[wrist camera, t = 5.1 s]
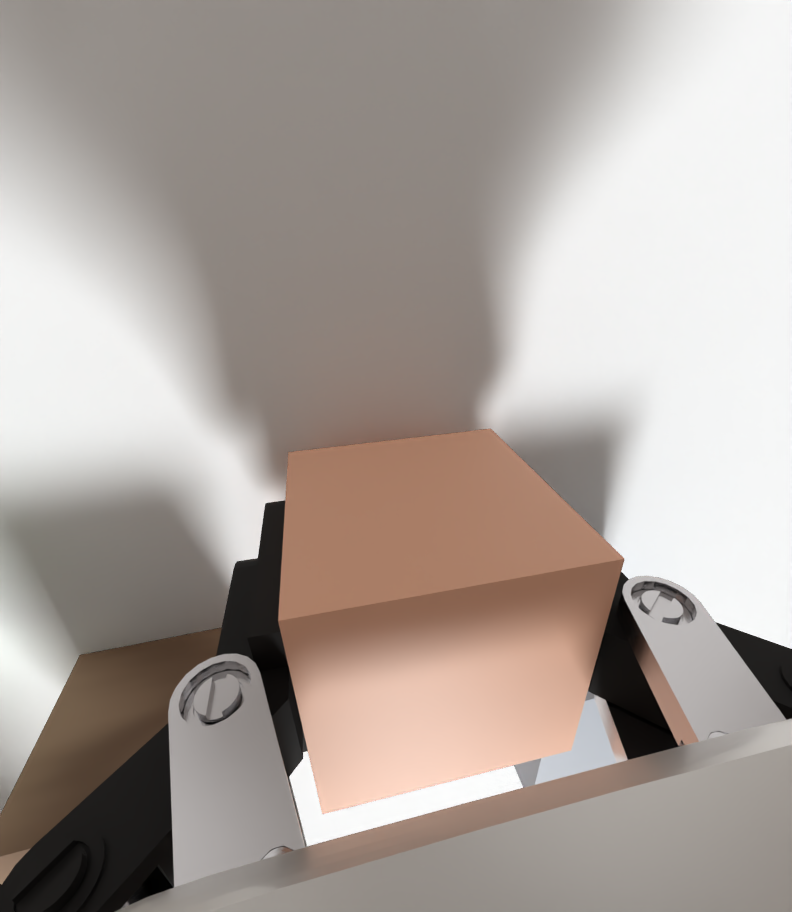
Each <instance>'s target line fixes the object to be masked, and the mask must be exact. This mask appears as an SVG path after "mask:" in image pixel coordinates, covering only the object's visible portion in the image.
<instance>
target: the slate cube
mask: <svg viewBox="0 0 792 912" xmlns="http://www.w3.org/2000/svg"><path fill="white" fill-rule="evenodd" d="M615 763H617V762H616V760H615V757H614V754H613V751H612V748H611V745H610V742H609V739H608V736H607V734H606V731H605V728H604V725H603V722H602V719H601V716H600V713H599V711H598V708H597V705H596V702H595V698H594V694H592V693H590V692H589V691H588V692H587V695H586V699H585V703H584V706H583V710H582V713H581V717H580V721H579V724H578V728H577V731H576V735H575V739H574V742H573V746H572V749H571V751H567V752H563V753H559V754H555V755H552V756H548V757H544V758H540V759H536V760H532V761H528V762H524V763H520V764H516V765H514V767H515V769H516V771H517V774H518V776H519V778H520V781H521V783H522V785H523V788H525V787H528V786H532V785H536V784H540V783H543V782H547V781H551V780H555V779H558V778H562V777H566V776H570V775H574V774H577V773H581V772H585V771H589V770H592V769H596V768H600V767H604V766H607V765H611V764H615Z"/></svg>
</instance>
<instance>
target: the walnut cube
mask: <svg viewBox="0 0 792 912" xmlns="http://www.w3.org/2000/svg"><path fill="white" fill-rule="evenodd" d="M221 629H222V628H217V629H212V630H207V631H202V632H196V633H191V634H186V635H181V636H176V637H171V638H166V639H160V640H155V641H150V642H145V643H140V644H135V645H130V646H124V647H119V648H114V649H109V650H104V651H99V652H93V653H88V654H83V655H80V656H79V658H78V660H77V662H76V664H75V666H74V668H73V670H72V672H71V674H70V676H69V678H68V680H67V682H66V684H65V686H64V688H63V690H62V692H61V694H60V696H59V698H58V700H57V702H56V704H55V706H54V708H53V710H52V712H51V714H50V716H49V718H48V720H47V722H46V724H45V726H44V728H43V730H42V732H41V734H40V736H39V738H38V740H37V742H36V744H35V746H34V748H33V750H32V752H31V754H30V756H29V758H28V760H27V762H26V764H25V766H24V768H23V770H22V772H21V774H20V776H19V778H18V780H17V782H16V784H15V786H14V788H13V790H12V792H11V794H10V796H9V798H8V800H7V802H6V804H5V807H4V809H3V811H2V813H1V815H0V884H1V885H2V884H3V882H4V881H5V879H6V878H7V876H8V875H9V873H10V872H11V871H12V869H13V868H14V866H15V865H16V864H17V863H18V862H19V861H20V859H21V858H22V857H23V856H24V855H25V854H26V853H27V852H28V851H29V850H30V849H31V848H32V847H33V846H34V845H35V844H36V843H37V842H38V841H39V840H40V839H41V838H42V837H43V836H45V835H46V834H47V833H48V832H49V831H50V830H51V829H52V828H53V827H54V826H56V825H57V824H58V823H59V822H60V821H61V820H62V819H63V818H64V817H65V816H67V815H68V814H69V813H70V812H71V811H72V810H73V809H74V808H75V807H76V806H77V805H79V804H80V803H81V802H82V801H83V800H84V799H85V798H86V797H87V796H88V795H90V794H91V793H92V792H93V791H94V790H95V789H96V788H97V787H98V786H99V785H101V784H102V783H103V782H104V781H105V780H106V779H107V778H108V777H109V776H110V775H112V774H113V773H114V772H115V771H116V770H117V769H118V768H119V767H120V766H121V765H123V764H124V763H125V762H126V761H127V760H128V759H129V758H130V757H131V756H132V755H133V754H135V753H136V752H137V751H138V750H139V749H140V748H141V747H142V746H143V745H144V744H146V743H147V742H148V741H149V740H150V739H151V738H152V737H153V736H154V735H155V734H157V733H158V732H159V731H160V730H161V729H162V728H163V727H164V726H165V725H166V724H168V723H169V722H168V710H169V704H170V699H171V697H172V694H173V692H174V690H175V688H176V686H177V685H178V684H179V683H180V681H181V680H182V679H183V678H184V676H185V675H186V674H187V673H188V672H190V671H191V670H192V669H193V668H195V667H196V666H197V665H198V664H200V663H202V662H204V661H206V660H208V659H210V658H212V657H216V654H217V649H218V644H219V639H220V634H221Z"/></svg>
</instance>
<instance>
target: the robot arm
mask: <svg viewBox="0 0 792 912" xmlns="http://www.w3.org/2000/svg"><path fill="white" fill-rule="evenodd" d="M284 515H285V501H279V502H271V503H266V504H265V510H264V518H263V525H262V532H261V540H260V547H259V555H258V558H257V559H250V560H244V561H237V562H236V564H235V567H234V571H233V576H232V580H231V585H230V590H229V595H228V600H227V605H226V610H225V615H224V619H223V624H222V629H221V634H220V639H219V644H218V649H217V654H216V657H212V658H210V659H208V660H206V661H204V662H202V663H200V664H198V665H197V666H196V667H195V668H193V669H192V670H191V671H190V672H188V673H187V674H186V675H185V676H184V678H183V679H182V680H181V681H180V683H179V684H178V685H177V686H176V688H175V690H174V692H173V694H172V697H171V699H170V704H169V710H168V722H169V723H168V724H166V725H165V726H164V727H163V728H162V729H161V730H160V731H159V732H158V733H157V734H155V735H154V736H153V737H152V738H151V739H150V740H149V741H148V742H147V743H146V744H144V745H143V746H142V747H141V748H140V749H139V750H138V751H137V752H136V753H135V754H133V755H132V756H131V757H130V758H129V759H128V760H127V761H126V762H125V763H124V764H123V765H121V766H120V767H119V768H118V769H117V770H116V771H115V772H114V773H113V774H112V775H110V776H109V777H108V778H107V779H106V780H105V781H104V782H103V783H102V784H101V785H99V786H98V787H97V788H96V789H95V790H94V791H93V792H92V793H91V794H90V795H88V796H87V797H86V798H85V799H84V800H83V801H82V802H81V803H80V804H79V805H77V806H76V807H75V808H74V809H73V810H72V811H71V812H70V813H69V814H68V815H67V816H65V817H64V818H63V819H62V820H61V821H60V822H59V823H58V824H57V825H56V826H54V827H53V828H52V829H51V830H50V831H49V832H48V833H47V834H46V835H45V836H43V837H42V838H41V839H40V840H39V841H38V842H37V843H36V844H35V845H34V846H33V847H32V848H31V849H30V850H29V851H28V852H27V853H26V854H25V855H24V856H23V857H22V858H21V859H20V861H19V862H18V863H17V864H16V865H15V866H14V868H13V869H12V871H11V872H10V873H9V875H8V876H7V878H6V879H5V881H4V882H3V884H2V885H1V886H0V912H792V649H790V648H787V647H784V646H781V645H778V644H775V643H773V642H770V641H767V640H764V639H761V638H758V637H756V636H753V635H750V634H747V633H744V632H741V631H739V630H736V629H733V628H730V627H727V626H724V625H722V624H719V623H716V622H715V621H714V620H713V619H712V617H711V616H710V614H709V613H708V612H707V610H706V609H705V608H704V606H703V605H702V603H701V602H700V601H699V600H698V599H697V598H696V597H695V596H694V595H693V594H692V593H690V592H689V591H688V590H686V589H685V588H683V587H682V586H680V585H678V584H675V583H673V582H671V581H669V580H665V579H662V578H659V577H652V576H638V577H634V578H632V579H628V578H627V577H626V576H625V575H624V574H623V573H622V572H621V573H620V577H619V580H618V584H617V588H616V591H615V595H614V598H613V602H612V606H611V609H610V613H609V616H608V620H607V624H606V627H605V631H604V634H603V638H602V642H601V645H600V649H599V652H598V656H597V660H596V663H595V667H594V670H593V674H592V678H591V681H590V685H589V688H588V691H589V692H590V693H592V694H594V698H595V702H596V705H597V708H598V711H599V713H600V716H601V719H602V722H603V725H604V728H605V731H606V734H607V736H608V739H609V742H610V745H611V748H612V751H613V754H614V757H615V760H616V762H617V763H615V764H611V765H607V766H604V767H600V768H596V769H592V770H589V771H585V772H581V773H577V774H574V775H570V776H566V777H562V778H558V779H555V780H551V781H547V782H543V783H540V784H536V785H532V786H528V787H525V788H521V789H517V790H514V791H510V792H506V793H502V794H499V795H495V796H491V797H487V798H484V799H480V800H476V801H472V802H469V803H465V804H461V805H458V806H454V807H450V808H447V809H443V810H439V811H436V812H432V813H428V814H425V815H421V816H417V817H414V818H410V819H406V820H403V821H399V822H395V823H392V824H388V825H384V826H381V827H377V828H373V829H370V830H366V831H362V832H359V833H355V834H351V835H348V836H344V837H340V838H337V839H333V840H329V841H326V842H322V843H318V844H315V845H311V846H308V847H307V844H306V840H305V836H304V832H303V828H302V824H301V820H300V817H299V813H298V809H297V805H296V801H295V797H294V793H293V790H292V786H291V782H290V778H289V776H290V775H291V773H292V772H293V771H294V769H295V768H296V767H297V766H298V764H299V763H300V762H301V760H302V759H303V752H305V751H308V749H307V745H306V740H305V736H304V732H303V727H302V723H301V719H300V714H299V710H298V705H297V701H296V697H295V692H294V688H293V684H292V679H291V675H290V671H289V666H288V662H287V657H286V653H285V649H284V644H283V640H282V636H281V631H280V627H279V622H278V615H279V598H280V582H281V565H282V549H283V532H284Z"/></svg>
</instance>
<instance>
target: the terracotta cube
mask: <svg viewBox="0 0 792 912" xmlns="http://www.w3.org/2000/svg"><path fill="white" fill-rule="evenodd" d="M623 562H624V558H623V557H622V556H621V555H620V554H619V553H618V552H617V551H616V550H615V549H614V548H613V547H612V546H611V545H610V544H609V543H608V542H607V541H606V540H605V539H604V538H603V537H602V536H601V535H600V534H599V533H597V532H596V531H595V530H594V529H593V528H592V527H591V526H590V525H589V524H588V523H587V522H586V521H585V520H584V519H583V518H582V517H581V516H580V515H579V514H578V513H577V512H576V511H575V510H574V509H573V508H572V507H571V506H570V505H569V504H568V503H567V502H566V501H565V500H564V499H563V498H561V497H560V496H559V495H558V494H557V493H556V492H555V491H554V490H553V489H552V488H551V487H550V486H549V485H548V484H547V483H546V482H545V481H544V480H543V479H542V478H541V477H540V476H539V475H538V474H537V473H536V472H535V471H534V470H533V469H532V468H531V467H530V466H529V465H528V464H527V463H526V462H524V461H523V460H522V459H521V458H520V457H519V456H518V455H517V454H516V453H515V452H514V451H513V450H512V449H511V448H510V447H509V446H508V445H507V444H506V443H505V442H504V441H503V440H502V439H501V438H500V437H499V436H498V435H497V434H496V433H495V432H494V431H493V430H492V429H483V430H474V431H466V432H457V433H448V434H440V435H431V436H423V437H414V438H405V439H397V440H388V441H380V442H371V443H362V444H354V445H345V446H337V447H328V448H319V449H311V450H302V451H293V452H288V466H287V482H286V499H285V515H284V532H283V549H282V565H281V582H280V598H279V615H278V622H279V627H280V631H281V636H282V640H283V644H284V649H285V653H286V657H287V662H288V666H289V671H290V675H291V679H292V684H293V688H294V692H295V697H296V701H297V705H298V710H299V714H300V719H301V723H302V727H303V732H304V736H305V740H306V745H307V749H308V754H309V758H310V762H311V767H312V771H313V775H314V780H315V784H316V788H317V793H318V797H319V802H320V806H321V810H322V814H325V813H329V812H333V811H337V810H341V809H345V808H349V807H353V806H357V805H360V804H364V803H368V802H372V801H376V800H380V799H384V798H388V797H392V796H396V795H399V794H403V793H407V792H411V791H415V790H419V789H423V788H427V787H431V786H435V785H438V784H442V783H446V782H450V781H454V780H458V779H462V778H466V777H470V776H474V775H477V774H481V773H485V772H489V771H493V770H497V769H501V768H505V767H509V766H513V765H516V764H520V763H524V762H528V761H532V760H536V759H540V758H544V757H548V756H552V755H555V754H559V753H563V752H567V751H571V749H572V746H573V742H574V739H575V735H576V731H577V728H578V724H579V721H580V717H581V713H582V710H583V706H584V703H585V699H586V695H587V692H588V688H589V685H590V681H591V678H592V674H593V670H594V667H595V663H596V660H597V656H598V652H599V649H600V645H601V642H602V638H603V634H604V631H605V627H606V624H607V620H608V616H609V613H610V609H611V606H612V602H613V598H614V595H615V591H616V588H617V584H618V580H619V577H620V573H621V570H622V566H623Z"/></svg>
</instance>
